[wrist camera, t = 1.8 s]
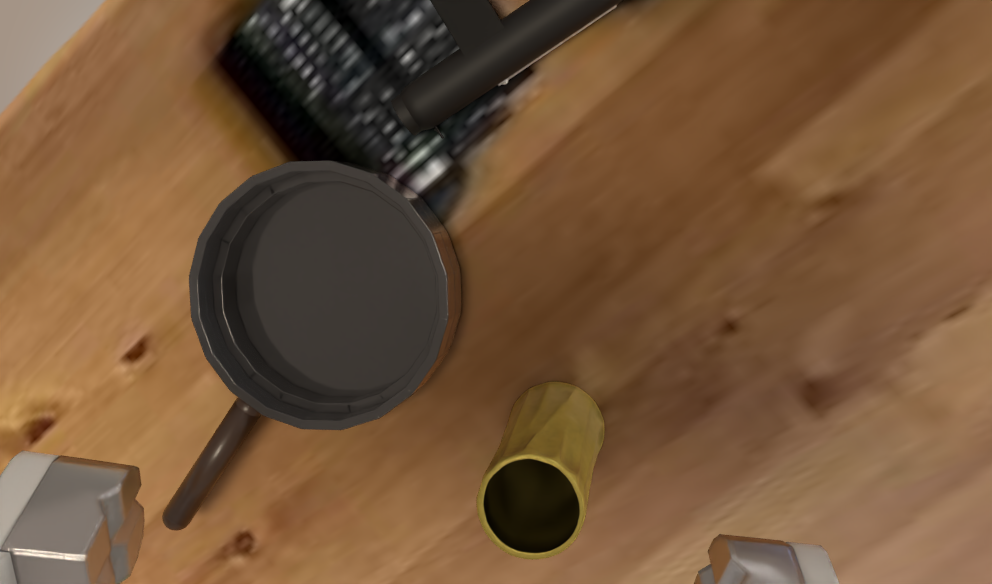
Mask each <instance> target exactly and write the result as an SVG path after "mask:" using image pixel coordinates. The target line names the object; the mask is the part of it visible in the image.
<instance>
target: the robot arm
mask: <svg viewBox="0 0 992 584" xmlns="http://www.w3.org/2000/svg"><path fill="white" fill-rule="evenodd" d="M140 487H141V478H140V471H139V468H138V467H135V466H131V465H124V464H117V463H110V462H103V461H96V460H89V459H82V458H75V457H68V456H62V455H61V456H58V455H51V454H44V453H36V452H29V451H21V452H20V453H19V454H17V455H16V456H15V457H13V458H12V459H11V460H10V462H9V463H8V465H7V466H6V468H5V469H4V471H3V472H2V474H1V475H0V584H120V583H121V582H123V581H124V580H125V579H127V578H128V577H130V575H131V573H132V570H133V568H134V565H135V563H136V561H137V558H138V554H139V551H140V547H141V543H142V539H143V532H144V508H143V507H142V506H141V505H140V504H139V503H138V502H137V501H136V500H135V498H136V496H137V494H138V491H139V489H140ZM708 553H709V558H710V562H711V564H710V565H708V566H706V567H705V568H703V569H701V570H700V571H699V572H698V574H697V577H696V579H695V582H694V584H839V581H838V579H837V576H836V574H835V571H834V569H833V566H832V564H831V561H830V559H829V556H828V554H827V552H826V551H825V549H824V548H823V547H822V546H820V545H811V544H803V543H794V542H784V541H779V540H770V539H760V538H751V537H741V536H732V535H722V534H719V535H718V536H717V537H716V538H714V539H713V541H712V543H711V546H710V548H709V550H708Z"/></svg>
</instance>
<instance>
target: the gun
mask: <svg viewBox="0 0 992 584" xmlns="http://www.w3.org/2000/svg"><path fill="white" fill-rule="evenodd" d="M430 1H431V2H432V4H433V6H434V7H435V9H436V10H437V12H438V14H439V15H440V17H441V19H442V20H443V22H444V23H445V25H446V27H447V28H448V30H449V32H450V33H451V35H452V36H453V38H454V40H455V41H456V43H457V45H458V46H459V48H460V49H459V50H457V51H456V52H454V53H453V54H451V55H450V56H449V57H447V58H446V59H444V60H443V61H441V62H440V63H438V64H437V65H435V66H434V67H433V68H431V69H430V70H428V71H427V72H425V73H424V74H422V75H421V76H420V77H418V78H417V79H415V80H414V81H412V82H411V83H409V84H408V85H407V86H406V87H405V88H404V89H403V90H402V92H401V94H400V95H398V96H397V97H395V98H394V99H393V100H391V103H392V105H393V108H394V110H395V111H396V113H397V115H398V117H399V118H400V120H401V121H402V122H403V124H404V125H405V126H406V128H407V129H408V130H409V131H410V132H411V133H412V134H413V135H416V134H418V133H419V132H421V131H422V130H428V129H432V128H434V129H435V128H436V129H435V130H437V131H438V132H437V131H436V132H437V133H439V134H438V135H440V136H441V138H443V136H442V134H441V132H440V131H439V129H438V127H437V125H439V124H440V123H442V122H443V121H445V120H446V119H448V118H449V117H451V116H452V115H454V114H455V113H457V112H458V111H460V110H461V109H463V108H464V107H466V106H467V105H468V104H470V103H471V102H473V101H474V100H476V99H477V98H479V97H480V96H482V95H483V94H485V93H486V92H488V91H489V90H491V89H492V88H494V87H495V86H497V85H498V86H500V85H505V84H507V83H508V81H509V79H511V78H512V77H514V76H515V75H517V74H518V73H520V72H521V71H522V70H524V69H525V68H527V67H528V66H530V65H531V64H533V63H534V62H536V61H537V60H539V59H540V58H542V57H543V56H545V55H546V54H548V53H549V52H551V51H552V50H554V49H555V48H557V47H558V46H560V45H561V44H562V43H564V42H565V41H567V40H568V39H570V38H571V37H573V36H574V35H576V34H577V33H579V32H580V31H582V30H583V29H585V28H586V27H588V26H589V25H591V24H592V23H594V22H595V21H597V20H598V19H600V18H601V17H602V16H604V15H605V14H607V13H608V12H610V11H611V10H613V9H614V8H616V7H617V6H616V5H617V4H618V3H619V2H621V1H622V0H529V1H528V2H527V3H525V4H524V5H522V6H521V7H519V8H518V9H516V10H515V11H514V12H512V13H511V14H509V15H508V16H506V17H505V18H503V19H502V20H500V18H499V17H498V15H497V13H496V12H495V10H494V9H493V7H492V5H491V4H490V2H489V0H430Z"/></svg>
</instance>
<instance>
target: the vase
mask: <svg viewBox="0 0 992 584" xmlns="http://www.w3.org/2000/svg"><path fill="white" fill-rule="evenodd" d="M603 440H604V420H603V417H602V414H601V412H600V410H599V408H598V406H597V405H596V403H595V401H594V400H593V399H592V398H591V397H590V396H589V395H588V394H587V393H586V392H584V391H583V390H582V389H580V388H578V387H577V386H574V385H571V384H568V383H563V382H547V383H543V384H540V385H537V386H534V387H532V388H530V389H528V390H527V391H526V392H524V393H523V394H522V395H521V396H520V397H519V398H518V400H517V401H516V402H515V404H514V406H513V408H512V410H511V413H510V416H509V420H508V424H507V426H506V429H505V431H504V434H503V437H502V440H501V443H500V446H499V448H498V450H497V452H496V454H495V456H494V458H493V459H492V461H491V463H490V465H489V467H488V469H487V470H486V472H485V474H484V476H483V479H482V483H481V486H480V489H479V492H478V495H477V512H478V516H479V519H480V522H481V525H482V527H483V529H484V531H485V533H486V534H487V536H488V537H489V538H490V539H491V541H492V542H493V543H494V544H495V545H496V546H498V547H499V548H500V549H502V550H503V551H504V552H506V553H508V554H510V555H512V556H515V557H519V558H524V559H532V560H533V559H543V558H548V557H551V556H554V555H557V554H559V553H561V552H563V551H564V550H565V549H567V548H568V547H569V546H570V545H571V544H572V543H573V542H574V541H575V539H576V538H577V536H578V534H579V532H580V530H581V528H582V525H583V523H584V520H585V516H586V510H587V504H588V496H589V490H590V485H591V480H592V474H593V468H594V465H595V463H596V459H597V455H598V453H599V451H600V449H601V447H602V444H603Z"/></svg>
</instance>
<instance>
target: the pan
mask: <svg viewBox="0 0 992 584" xmlns="http://www.w3.org/2000/svg"><path fill="white" fill-rule="evenodd" d="M189 288H190V305H191V318H192V322H193V324H194V327H195V330H196V333H197V335H198V338H199V341H200V344H201V346H202V349H203V352H204V355H205V357H206V359H207V360H208V362H209V363H210V364H211V366H212V367H213V368H214V370H215V371H216V373H217V374H218V375H219V377H220V378H221V379H222V381H223V382H224V383H225V385H226V386H227V387H228V389H229V390H230V391H231V392H232V393H233V394H235V395H236V396H237V397H239V398H240V399H241V400H243V401H244V402H245V403H247V404H248V405H249V406H251V407H252V408H254V409H255V410H256V411H258V412H259V413H260V414H262V415H264V416H266V417H269V418H272V419H274V420H277V421H280V422H283V423H286V424H289V425H292V426H294V427H297V428H300V429H315V430H344V429H347V428H350V427H353V426H357V425H360V424H363V423H366V422H369V421H373V420H376V419H379V418H381V417H382V416H384V415H385V414H387V413H388V412H389V411H391V410H392V409H393V408H395V407H396V406H397V405H399V404H400V403H402V402H403V401H404V400H406V399H407V398H408V397H410V396H411V395H412V394H413V393H415V392H416V391H417V390H418V389H419V388H420V387H421V386H422V385H423V384H425V383H426V382H427V381H428V380H429V378H430V377H431V375H432V374H433V373H434V371H435V370H436V368H437V367H438V365H439V364H440V363H441V361H442V360H443V358H444V357H445V355H446V354H447V353H448V351H449V349H450V347H451V344H452V341H453V337H454V334H455V330H456V327H457V324H458V320H459V317H460V314H461V273H460V267H459V264H458V261H457V259H456V256H455V253H454V250H453V247H452V244H451V241H450V238H449V235H448V232H447V231H446V229H445V228H444V227H443V225H442V224H441V223H440V221H439V220H438V218H437V217H436V216H435V214H434V213H433V212H432V210H431V209H430V208H429V206H428V205H427V204H426V202H425V201H424V200H423V199H422V198H421V197H420V196H419V195H417V194H416V193H414V192H413V191H412V190H410V189H409V188H407V187H406V186H405V185H403V184H402V183H400V182H399V181H398V180H396V179H395V178H393V177H392V176H391V175H388V174H386V173H382V172H379V171H376V170H373V169H369V168H366V167H363V166H360V165H356V164H353V163H346V162H338V161H297V162H288V163H285V164H282V165H280V166H277V167H274V168H272V169H269V170H266V171H264V172H261V173H259V174H256V175H253V176H252V177H250V178H249V179H247V180H246V181H245V182H244V183H243V184H241V185H240V186H239V187H238V188H237V189H236V190H234V191H233V192H232V193H231V194H230V195H228V196H227V197H226V198H225V199H224V200H222V201H221V203H219V205H218V207H217V208H216V210H215V212H214V213H213V215H212V216H211V218H210V220H209V221H208V223H207V225H206V226H205V228H204V229H203V231H202V233H201V234H200V236H199V238H198V242H197V246H196V250H195V254H194V258H193V262H192V266H191V270H190V275H189Z"/></svg>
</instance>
